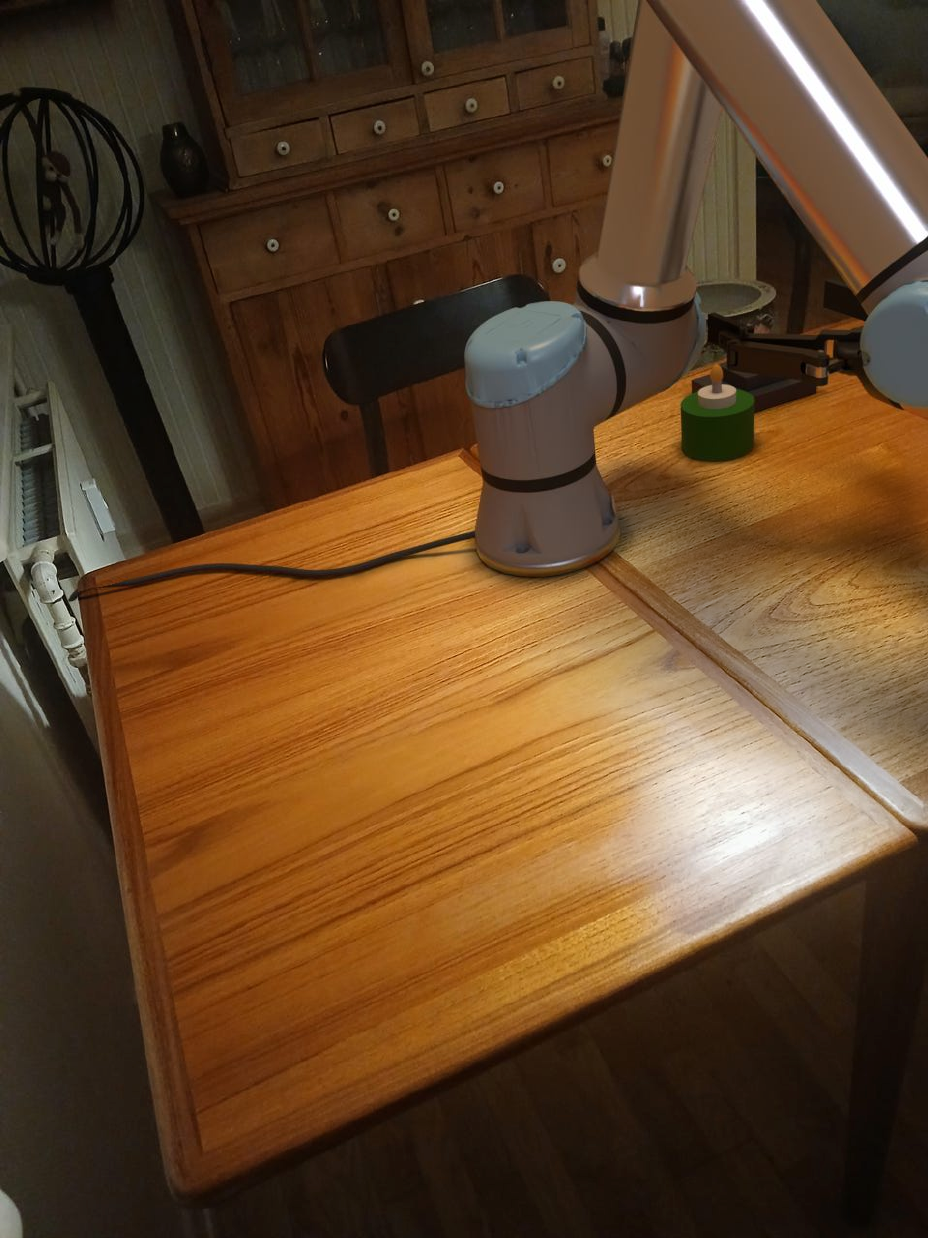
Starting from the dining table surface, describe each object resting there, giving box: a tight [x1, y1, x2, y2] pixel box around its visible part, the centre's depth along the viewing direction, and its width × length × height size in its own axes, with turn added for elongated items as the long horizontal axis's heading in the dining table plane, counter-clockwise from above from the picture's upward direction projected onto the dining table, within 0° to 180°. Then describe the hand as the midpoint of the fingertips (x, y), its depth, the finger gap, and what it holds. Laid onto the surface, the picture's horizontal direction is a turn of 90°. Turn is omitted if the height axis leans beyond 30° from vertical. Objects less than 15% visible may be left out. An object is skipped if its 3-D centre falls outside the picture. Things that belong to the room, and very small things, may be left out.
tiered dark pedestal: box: [691, 361, 818, 413], centre depth 122 cm, size 12×10×4 cm
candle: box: [680, 363, 755, 462], centre depth 110 cm, size 8×8×10 cm
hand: (769, 309), depth 95 cm, fingers open, 13 cm apart
